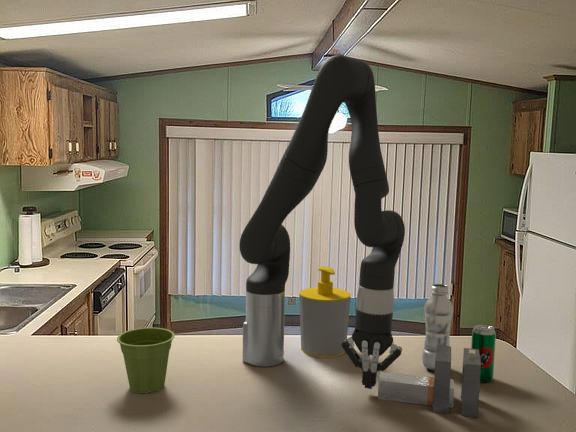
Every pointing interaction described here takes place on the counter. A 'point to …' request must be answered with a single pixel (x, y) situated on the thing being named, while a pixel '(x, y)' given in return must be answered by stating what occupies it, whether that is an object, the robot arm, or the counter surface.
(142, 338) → the plant pot
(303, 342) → the soap bottle
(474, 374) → the collar
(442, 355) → the collar
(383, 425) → the counter surface
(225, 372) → the counter surface
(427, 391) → the pale grey rectangular bar
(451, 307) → the plastic bottle
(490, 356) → the soda can
